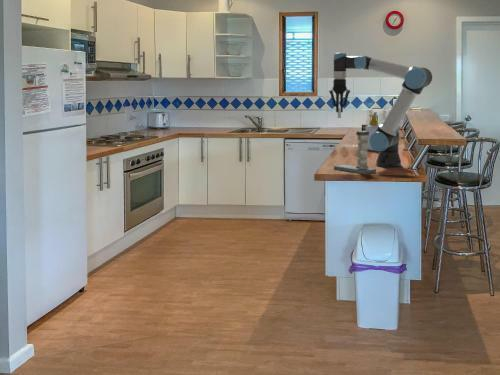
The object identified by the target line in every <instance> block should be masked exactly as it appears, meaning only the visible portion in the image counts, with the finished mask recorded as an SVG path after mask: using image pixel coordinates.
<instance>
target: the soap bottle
mask: <svg viewBox="0 0 500 375" xmlns="http://www.w3.org/2000/svg"><path fill="white" fill-rule="evenodd" d="M368 117H371V119H370V121H369V124H367V125H368V126H366V131H368V132H369V135H368V145H367V151H373V152H377V151H376V150H374V149H373V148H372V147H371V146H370V143H369V139H370V136H371V135H372V134H373V133H374V132H375V131H376V130H377V128H378V126H379V125H380V124H378V122H379V121H378V120H376V119H377V118H376V114H375V115H374V114H369V115H368Z"/></svg>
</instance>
